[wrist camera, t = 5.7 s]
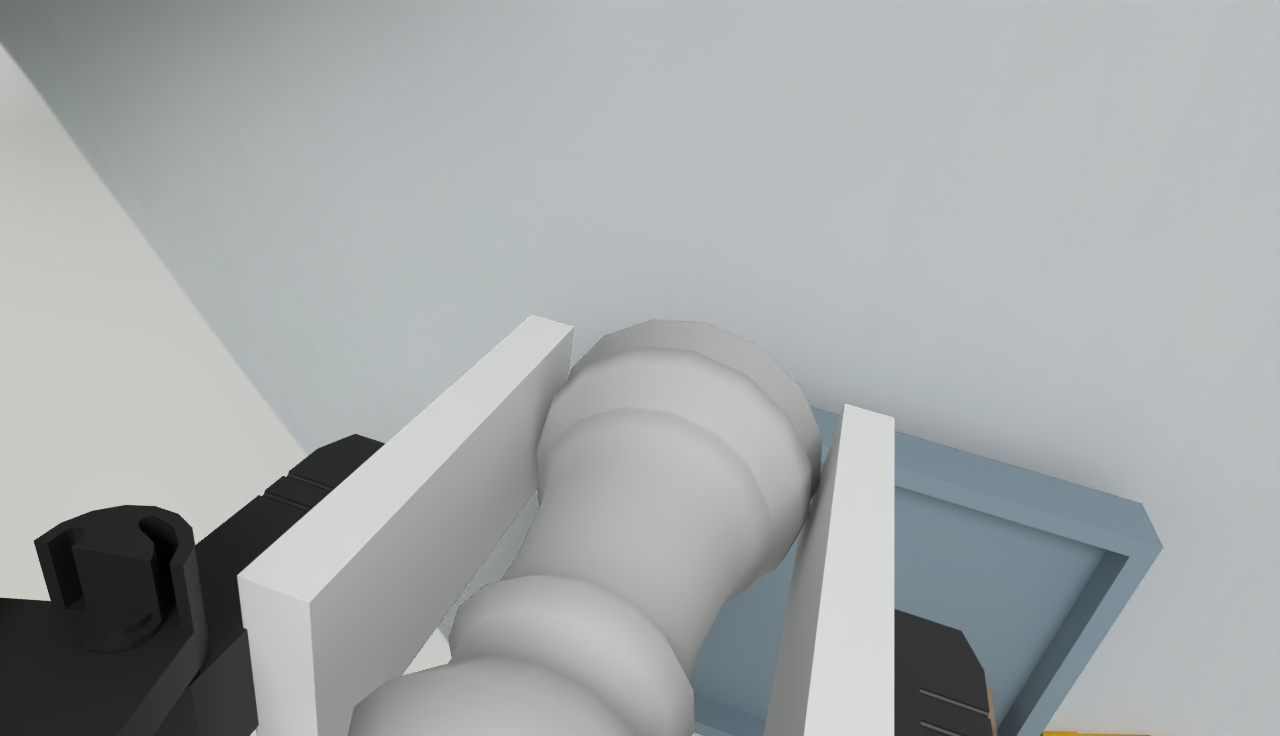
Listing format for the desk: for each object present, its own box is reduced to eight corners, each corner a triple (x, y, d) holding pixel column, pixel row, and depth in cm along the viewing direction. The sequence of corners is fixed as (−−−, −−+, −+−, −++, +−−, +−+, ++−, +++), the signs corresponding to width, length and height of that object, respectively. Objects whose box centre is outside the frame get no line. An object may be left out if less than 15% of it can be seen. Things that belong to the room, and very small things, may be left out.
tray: (617, 335, 27) (475, 511, 18) (1132, 484, 24) (1280, 788, 15) (568, 621, 33) (447, 853, 24) (965, 764, 30) (995, 1091, 21)
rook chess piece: (581, 278, 12) (172, 629, 5) (858, 347, 11) (791, 872, 5) (557, 499, 14) (239, 955, 8) (791, 571, 14) (675, 1167, 7)
